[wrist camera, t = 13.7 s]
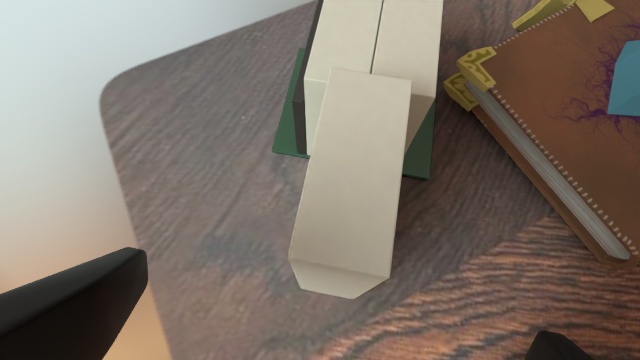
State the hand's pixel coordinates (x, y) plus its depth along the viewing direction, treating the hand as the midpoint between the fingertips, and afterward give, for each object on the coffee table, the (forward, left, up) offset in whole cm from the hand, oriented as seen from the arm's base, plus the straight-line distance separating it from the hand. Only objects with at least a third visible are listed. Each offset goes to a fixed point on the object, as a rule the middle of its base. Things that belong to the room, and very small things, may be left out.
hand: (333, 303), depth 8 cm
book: (+23, -14, -12) cm, 29 cm away
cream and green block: (+12, +3, -12) cm, 17 cm away
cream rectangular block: (+5, +1, -12) cm, 13 cm away
